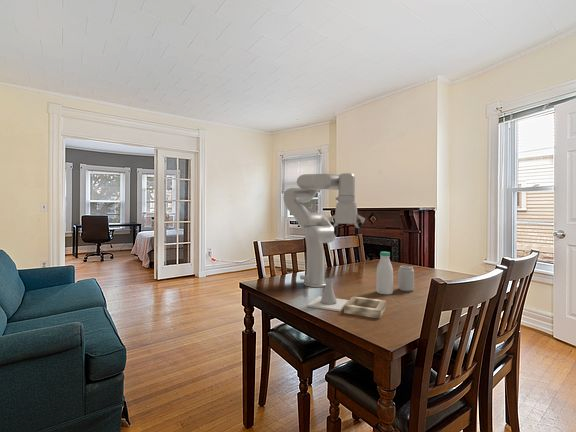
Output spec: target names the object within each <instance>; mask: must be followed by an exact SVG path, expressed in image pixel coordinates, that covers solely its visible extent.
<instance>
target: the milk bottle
mask: <svg viewBox="0 0 576 432" xmlns="http://www.w3.org/2000/svg"><path fill="white" fill-rule="evenodd" d="M379 256H380V259H379V261H378V263H377V265H376V266H377V267H376V275H375V276H376V277H375V278H376V281H375V282H376V283H375V284H376V288H375V289H376V293H377V294H380V295H392V294H393V293H394V292H393V291H394V270H393V269H394V268H393V265H392V263H391V259H390V257H391V252H390V251H380V253H379Z"/></svg>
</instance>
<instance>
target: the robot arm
mask: <svg viewBox="0 0 576 432" xmlns="http://www.w3.org/2000/svg"><path fill="white" fill-rule="evenodd" d="M355 181H356V177H355V174H354V173H351V172H350V173H349V172H345V173H340V174H338V173H337V174H336V173H335V174H334V173H306V174H305V173H303V174H300V176H298V177H297V179H296V185H297V186H298V187H289V188H287V189H286V190H284V192H283V203H284V206H285V207H286V209H287V210H288V211H289V212H290V214H291V215H292V216H293V218H294V219H295V221H296V222H297V223H298V225H299V226H300V228H301V229H302V230H304V231H305V232H304V239H305V244H306V274H305V275H303V274H302V275H299V276H300V277H299V279H300V280H302V281H303V280H304V281H303V285H304V286H306V287H311V288H322V287H325V285H326V281H325V249H324V247H323V245H322V244H329V243H332V242H334V241H335V239H336V237H337V236H339V227H338V226H339V225H340V224H345V225H347V224H348V225H352V224H353V225H354V237H358V236H359V234H360V228H361V226H363V224H364V223H365V220H366V218H365V217H363V216H361V215H360V214H358V206H357V202H355V196H356V193H355V191H356V189H355V188H356V186H355V185H356V182H355ZM320 190H332V191H335V190H336V191H338V196H335V201H338V202H336V205H335V209H334V210H335V212H334V214H333V215H332V216H330V217H328V219H327V217H326V216H325V215H324V214H323V213H321V212H320V213H319V212H310V211H309V210H308V209H307V208H306V207H305V205H303V204H301V203H309V202H311V201H312V200H313V199H314V197H315V196H316V195H317V194H318V192H319V191H320ZM358 219H359V220H360V222H358ZM333 220H334V221H333Z"/></svg>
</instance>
